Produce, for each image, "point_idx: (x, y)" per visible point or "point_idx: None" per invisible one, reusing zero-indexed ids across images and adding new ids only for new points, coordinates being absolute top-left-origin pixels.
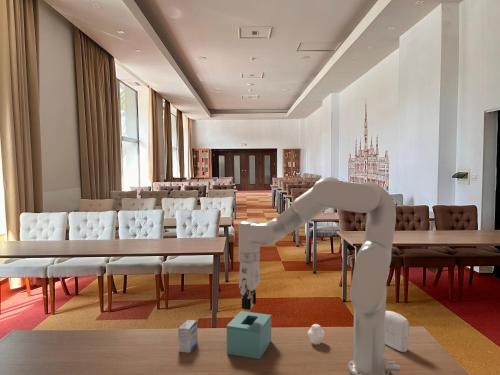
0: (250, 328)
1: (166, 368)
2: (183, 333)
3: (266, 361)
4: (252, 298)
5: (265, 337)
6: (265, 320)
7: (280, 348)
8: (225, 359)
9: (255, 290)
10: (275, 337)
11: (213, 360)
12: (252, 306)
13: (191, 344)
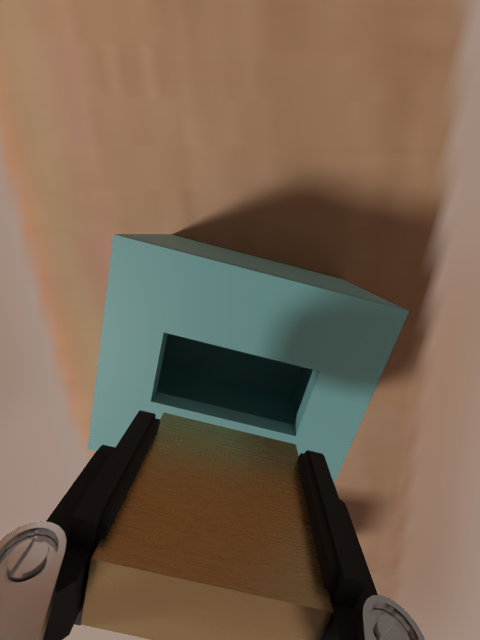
0: (371, 373)
1: (390, 555)
2: None
3: (363, 250)
4: (184, 503)
5: (265, 264)
6: (230, 276)
7: (241, 185)
8: None
9: (18, 563)
10: (129, 214)
11: None
12: (200, 428)
13: None
